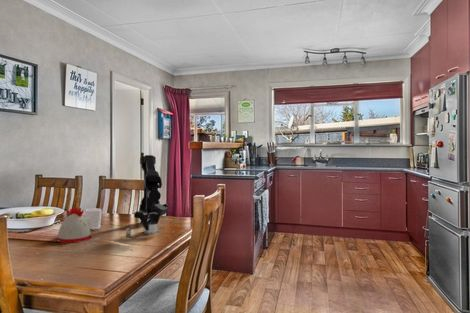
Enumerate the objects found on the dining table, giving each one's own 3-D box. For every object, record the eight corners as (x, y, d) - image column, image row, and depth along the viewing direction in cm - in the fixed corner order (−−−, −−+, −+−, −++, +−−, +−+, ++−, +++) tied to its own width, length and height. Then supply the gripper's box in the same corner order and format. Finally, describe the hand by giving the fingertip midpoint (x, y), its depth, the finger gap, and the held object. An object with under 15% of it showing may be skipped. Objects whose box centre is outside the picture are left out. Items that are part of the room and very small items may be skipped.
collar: (142, 232, 153) (142, 223, 153) (150, 229, 158) (150, 221, 158) (151, 234, 150) (151, 225, 150) (159, 231, 156) (159, 223, 156)
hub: (117, 239, 143) (117, 229, 143) (128, 236, 149) (128, 226, 149) (128, 242, 140) (128, 231, 140) (139, 238, 146) (139, 228, 146)
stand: (140, 234, 153) (141, 223, 153) (150, 231, 159) (150, 221, 159) (151, 236, 150) (151, 225, 150) (160, 233, 156) (161, 222, 156)
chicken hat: (76, 244, 135) (77, 210, 134) (50, 241, 137) (51, 208, 137) (96, 235, 148) (97, 205, 148) (72, 233, 151) (73, 203, 151)
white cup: (97, 230, 158) (97, 211, 158) (82, 229, 158) (82, 210, 158) (103, 226, 166) (104, 208, 165) (89, 226, 166) (90, 208, 166)
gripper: (151, 202, 142) (150, 235, 142) (175, 197, 159) (174, 227, 159) (133, 200, 147) (133, 232, 147) (159, 195, 164) (158, 224, 164)
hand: (151, 229), depth 154 cm, fingers closed on collar, 6 cm apart
